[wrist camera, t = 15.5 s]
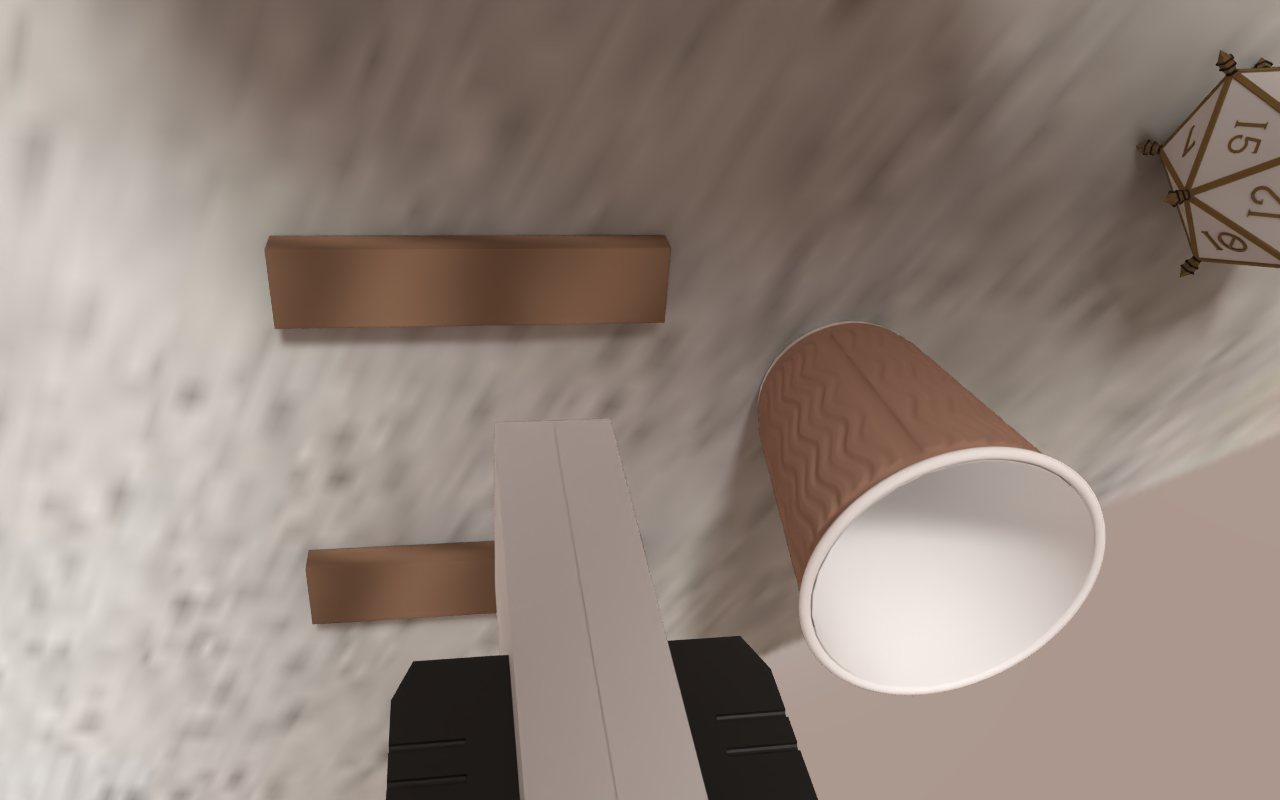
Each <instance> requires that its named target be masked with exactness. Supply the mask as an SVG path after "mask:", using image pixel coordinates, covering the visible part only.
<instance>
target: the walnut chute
mask: <svg viewBox="0 0 1280 800" xmlns="http://www.w3.org/2000/svg"><path fill="white" fill-rule="evenodd" d="M670 253H671V247H670V245H669V243H668V241H667V239H666V237H665V235H602V236H269V239H268V242H267V245H266V247H265V256H266V264H267V272H268V280H269V287H270V295H271V303H272V311H273V319H274V326H275V329H291V328H354V327H417V326H479V325H542V324H605V323H664V322H665V311H666V299H667V287H668V276H669V264H670ZM640 536H641V535H640ZM641 540H642V539H641ZM642 544H643V543H642ZM643 548H644V547H643ZM644 552H645V551H644ZM306 576H307V584H308V592H309V599H310V607H311V615H312V623H313V624H326V623H342V622H358V621H374V620H390V619H406V618H422V617H438V616H454V615H470V614H486V613H497V607H496V593H495V541H486V542H466V543H447V544H427V545H407V546H387V547H368V548H348V549H328V550H309V552H308V558H307V564H306Z"/></svg>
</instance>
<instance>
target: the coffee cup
mask: <svg viewBox="0 0 1280 800" xmlns="http://www.w3.org/2000/svg"><path fill="white" fill-rule="evenodd" d="M758 421H759V433H760V437H761V442H762V446H763V450H764V454H765V458H766V462H767V466H768V470H769V473H770V476H771V481H772V486H773V490H774V493H775V497H776V501H777V505H778V509H779V513H780V517H781V520H782V523H783V527H784V533H785V537H786V541H787V544H788V548H789V552H790V556H791V560H792V564H793V568H794V572H795V575H796V578H797V582H798V587H799V592H800V595H799V619H800V625H801V629H802V632H803V635H804V638H805V640H806V642H807V644H808V646H809V648H810V650H811V651H812V652H813V654H814V655H815V657H816V658H817V659H818V660H819V661H820V662H821V663H822V664H823V665H824V666H825V667H826V668H827V669H828V670H829V671H831V672H832V673H833V674H835V675H836V676H838V677H839V678H841V679H843V680H844V681H846V682H848V683H850V684H852V685H855V686H857V687H860V688H863V689H866V690H869V691H873V692H878V693H884V694H891V695H926V694H934V693H940V692H946V691H950V690H955V689H958V688H962V687H965V686H969V685H972V684H975V683H977V682H980V681H983V680H985V679H988V678H990V677H992V676H995V675H997V674H999V673H1001V672H1003V671H1005V670H1007V669H1009V668H1011V667H1012V666H1014V665H1016V664H1018V663H1019V662H1021V661H1022V660H1024V659H1026V658H1027V657H1029V656H1030V655H1032V654H1033V653H1034V652H1036V651H1037V650H1038V649H1040V648H1041V647H1042V646H1044V644H1046V643H1047V642H1048V641H1049V640H1051V639H1052V638H1053V637H1054V636H1055V635H1056V634H1057V633H1058V632H1059V631H1060V630H1061V629H1062V628H1063V627H1064V626H1065V625H1066V624H1067V623H1068V622H1069V621H1070V619H1071V618H1072V617H1073V616H1074V615H1075V613H1076V612H1077V611H1078V609H1079V608H1080V607H1081V605H1082V604H1083V602H1084V601H1085V599H1086V598H1087V596H1088V594H1089V592H1090V591H1091V589H1092V587H1093V585H1094V583H1095V581H1096V578H1097V576H1098V573H1099V571H1100V568H1101V564H1102V561H1103V556H1104V550H1105V539H1106V537H1105V524H1104V519H1103V513H1102V510H1101V507H1100V504H1099V502H1098V499H1097V497H1096V495H1095V494H1094V492H1093V490H1092V489H1091V487H1090V486H1089V485H1088V483H1087V482H1086V481H1085V480H1084V479H1083V478H1082V477H1081V476H1080V475H1079V474H1078V473H1077V472H1076V471H1074V470H1073V469H1071V468H1070V467H1069V466H1067V465H1065V464H1064V463H1062V462H1060V461H1058V460H1056V459H1054V458H1052V457H1049V456H1047V455H1044V454H1042V453H1041V452H1040V451H1039V450H1038V449H1036V448H1035V447H1034V446H1033V445H1032V444H1030V443H1029V442H1028V441H1027V440H1026V439H1025V438H1023V437H1022V436H1021V435H1020V434H1019V433H1018V432H1016V431H1015V430H1014V429H1013V428H1011V427H1010V426H1009V425H1007V424H1006V423H1005V422H1004V421H1003V420H1002V419H1001V418H1000V417H999V416H997V415H996V414H995V413H994V412H993V411H992V410H990V409H989V408H988V407H987V406H986V405H984V404H983V403H982V402H981V401H980V400H979V399H977V398H976V397H975V396H974V395H973V394H972V393H970V392H969V391H968V390H967V389H965V388H964V387H963V386H961V385H960V384H959V383H958V382H957V381H956V380H955V379H954V378H953V377H951V376H950V375H949V374H948V373H947V372H946V371H944V370H943V369H942V368H941V367H940V366H939V365H937V364H936V363H935V362H934V361H933V360H931V359H930V358H929V357H928V356H926V355H925V354H924V353H923V352H922V351H921V350H920V349H918V348H917V347H916V346H915V345H914V344H913V343H911V342H910V341H907V340H906V339H905V338H903V337H902V336H899V335H897V334H895V333H894V332H892V331H890V330H888V329H886V328H884V327H882V326H880V325H876V324H872V323H868V322H864V321H844V322H837V323H831V324H828V325H825V326H822V327H819V328H816V329H814V330H812V331H810V332H808V333H806V334H804V335H802V336H801V337H799V338H798V339H796V340H795V341H794V342H792V343H791V344H790V345H788V346H787V347H786V348H785V349H784V350H783V351H782V352H781V353H780V354H779V355H778V356H777V357H776V359H775V360H774V362H773V363H772V365H771V366H770V368H769V369H768V370H767V372H766V375H765V377H764V379H763V381H762V384H761V387H760V392H759V396H758ZM1071 485H1072V486H1073V487H1074V488H1075V489H1074V488H1073V487H1071ZM1077 492H1078V493H1079V494H1078V493H1077ZM1079 495H1080V496H1081V497H1080V496H1079ZM1081 498H1082V499H1083V500H1082V499H1081ZM1083 501H1084V502H1083ZM1085 504H1086V505H1085ZM813 626H814V627H815V630H816V633H815V630H814V627H813ZM816 634H817V635H816ZM818 638H819V639H818ZM819 640H820V641H819ZM820 642H821V643H820ZM821 644H822V645H823V646H822V645H821ZM823 647H824V648H823Z"/></svg>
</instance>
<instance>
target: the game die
mask: <svg viewBox="0 0 1280 800" xmlns="http://www.w3.org/2000/svg"><path fill="white" fill-rule="evenodd" d="M1233 59H1234V56H1233V55H1232V54H1227V53H1225V52H1223V51H1221V50H1220V53H1219V58H1218V62H1217V63H1216V66H1219V67H1220V69H1219V71H1223V72H1224V73H1225V74H1226V76H1225V77H1224V78H1223V79H1222V80H1221V81H1220V82H1219V84H1218V85H1217V86H1216V87H1215V88H1214V89H1213V90H1212V91H1211V92H1210V94H1209V95H1208V96H1207V97H1206V98H1205V99H1204V100H1203V101H1202V102H1201V103H1200V105H1199V106H1198V107H1197V108H1196V109H1195V110H1194V111H1193V112H1192V113H1191V115H1190V116H1189V117H1188V118H1187V119H1186V120H1185V121H1184V122H1183V123H1182V125H1181V126H1180V127H1179V128H1178V129H1177V130H1176V131H1175V132H1174V133H1173V135H1172V136H1171V137H1170V138H1169V139H1168V140H1167V141H1166V142H1165V143H1164V145H1159V144H1157V143H1156V141H1154V142H1150V140H1148V141H1147V142H1146V143H1143V144H1141V145H1139V146H1136V147H1137V148H1138V149H1140V150H1141V151H1142V152H1143V155H1148V154H1150V155H1154V154H1159V155H1160V158H1161V161H1162V164H1163V167H1164V170H1165V173H1166V176H1167V179H1168V182H1169V185H1170V188H1171V191H1169V194H1168V196H1167V198H1166V199H1165V202H1167V203H1169V204H1171V205H1172V206H1173V207H1176V206H1177V209H1178V212H1179V215H1180V218H1181V221H1182V223H1183V226H1184V229H1185V232H1186V235H1187V238H1188V241H1189V244H1190V247H1191V250H1192V253H1193V257H1192V258H1191V259H1188V260H1186V261H1185V263H1184V264H1182V265H1181V273H1180V277H1183V276H1186V275H1189V274H1193V275H1194V271H1195V270H1196V269H1197V270H1198V265H1199V263H1200V262H1201V261H1204V262H1216V263H1227V264H1239V265H1250V266H1262V267H1273V268H1280V67H1271V66H1272V65H1273V63H1271V62H1269V61H1267V60H1264V59H1263V58H1261V60H1260V61H1259V62H1258V64H1255V65H1256V68H1251V69H1236V66H1235V65H1236V64H1237V63H1236V62H1235V61H1234V60H1233Z"/></svg>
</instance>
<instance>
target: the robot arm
mask: <svg viewBox="0 0 1280 800" xmlns="http://www.w3.org/2000/svg"><path fill="white" fill-rule="evenodd" d="M494 515H495V593H496V607H497V622H498V637H499V652H500V655H498V656H484V657H470V658H455V659H441V660H426V661H413V663H412V665H411V666H410V668H409V670H408V672H407V673H406V675H405V677H404V679H403V680H402V682H401V684H400V686H399V687H398V689H397V691H396V693H395V695H394V696H393V698H392V700H391V711H390V732H389V753H388V772H387V792H386V800H818V798H817V796H816V793H815V790H814V787H813V784H812V782H811V779H810V776H809V773H808V771H807V768H806V765H805V763H804V760H803V757H802V754H801V751H800V750H798V748H797V740H796V737H795V735H794V732H793V729H792V726H791V724H790V721H789V718H788V717H786V715H785V707H784V704H783V702H782V699H781V696H780V693H779V691H778V688H777V685H776V682H775V679H774V677H773V674H772V671H771V669H770V668H769V667H768V666H767V665H766V663H765V662H764V661H763V660H762V659H761V658H760V657H759V656H758V655H757V654H756V653H755V652H754V650H753V649H752V648H751V647H750V646H749V645H748V644H747V643H746V642H745V641H744V640H743V639H742V637H741V636H732V637H718V638H703V639H689V640H674V641H667V638H666V634H665V630H664V626H663V622H662V618H661V614H660V610H659V607H658V603H657V599H656V595H655V591H654V587H653V583H652V579H651V575H650V571H649V568H648V564H647V560H646V556H645V552H644V548H643V544H642V540H641V536H640V533H639V529H638V525H637V521H636V517H635V513H634V509H633V505H632V501H631V498H630V494H629V490H628V486H627V482H626V478H625V474H624V470H623V466H622V463H621V459H620V455H619V451H618V447H617V443H616V439H615V435H614V431H613V428H612V424H611V420H610V419H586V420H554V421H523V422H494Z"/></svg>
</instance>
